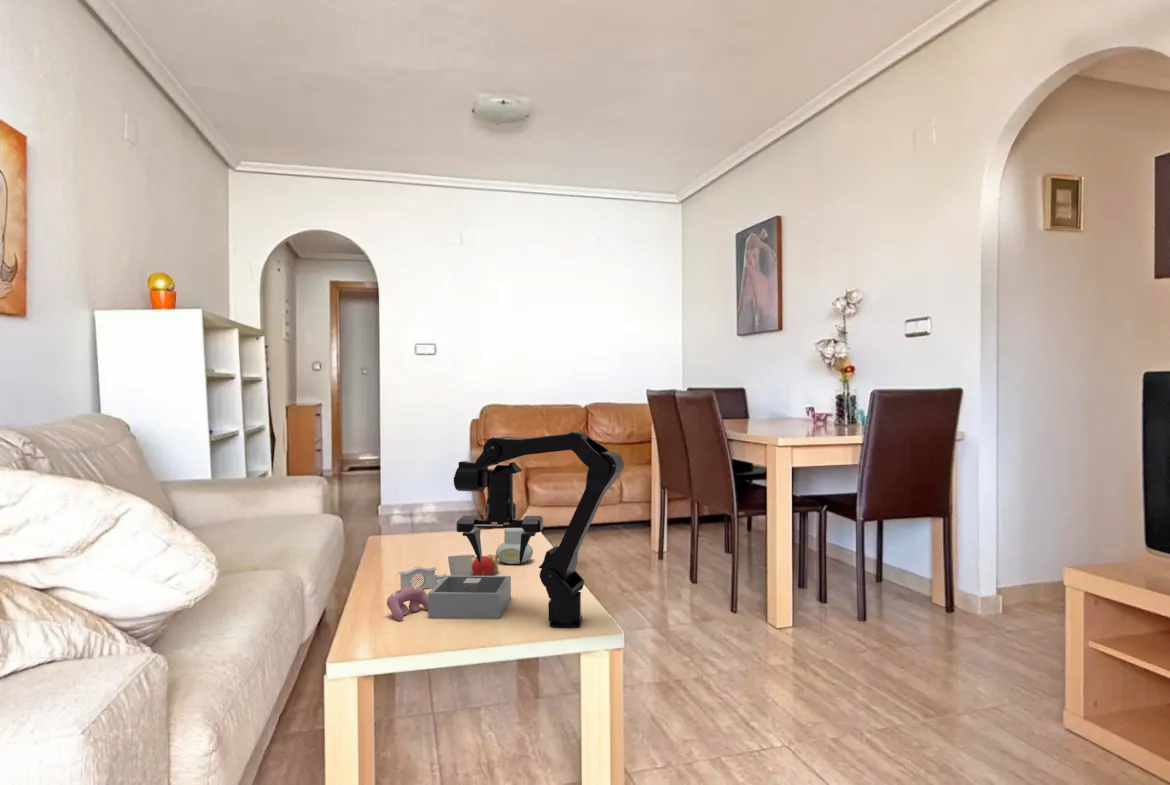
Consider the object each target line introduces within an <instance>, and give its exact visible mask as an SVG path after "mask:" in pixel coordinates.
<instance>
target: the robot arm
mask: <svg viewBox="0 0 1170 785" xmlns="http://www.w3.org/2000/svg"><path fill="white" fill-rule="evenodd" d="M562 451H572V452H573V453H574V454H575V455H576V456H577V458H578V459H579V460H580V461H581V463H583V464H584V465H585V466H586V467H587V468H588V470H587V474H586V481H585V488H584V492H583V493H582V495H581V498H580V500H579V502H578V503H577V506H576V509H575V510H574V513H573V515H572V517H571V520H570V521H569V524H568V525H567V528H566V530H565V533H564V535H563V537H562V539H561V542H560V543H559V545H555V546H553V547H552V548H550V549H548V550H547V551H546V552H545V555H544V558H543V561H542V563H541V564H540V565H539V566H538V568H539V569H540V571H539V579H540V581H541V583H542V585H543V586H544V587H545V589H546V592H547V596H548V598H549V600H548V604H547V608H548V610H547V611H548V622H549V626H550V627H551V628H562V627H563V628H580V627H581V625H582V620H583V615H582V592H581V591H582V590H583V588H584V585H585V579H584V578H583V577H582V576H581V575H580V574H579V573H578V572H577V571H576V569H577V565H578V558H579V557H578V556H579V552H580V551H579V550H580V548H581V545H582V544H583V541H584V539H585V537H586V535H587V533H588V531H589V528H590V526H591V524H592V522H593V520H594V518H595V516H596V513H597V512H598V509H599V507H600V505H601V503H602V500H603V498H604V496H605V494H606V493H607V492H608V491H609V490H610V488H611V487H612V486H613V484H614V483H615V482H616V481H617V479H618V478H619V476H620V475H621V473H622V472H623V470H624V467H625V462H624V461H623V458H622V456H621V455H620V454H619V453H618V452H616V451H613V450H612V451H611V450H608V448H606V447H605V446H604V445H602V444H600V443H599V442H597V441H596V440H594V439H592V438H591V437H590V436H589V435H588V434H587V433H586V432H584V431H581V430H578V431H577V430H576V431H572V432H569V433H561V434H551V435H544V436H535V437H518V436H506V435H503V436H496V437H492V438H488V439H487V440H486V442H485V443H484V445H483V449H482V452H481V454H480V456H479V457H478V458H477V459H476V461H475V462H474V461H467V460H463V461H459V462H458V467H457V469H456V470H455V473H454V476H453V486H454V489H455V490H456V491H457V492H473V493H474V492H475V493H477V492H479V493H482V492H484V491H485V489H486V488H487V490H486V491H487V492H486V495H487V498H486V504H485V514H486V515H487V517H486V519H480V516H479V515H462V516H461V517H460V518H459V519H458V520H457V521H456V532H457V533H462V536H463V537H467V540H468V541H469V543H470V545H471V547H472V549H473V551H474V553H475V554H474V555H475V557H477V559H478V561H479V563H481V562H482V556H483V552H482V551H483V550H482V545H481V544H482V543H481V542H482V541H481V532H482V531H481V529H506V528H522V529H523V530H524V531H523V532H522V534H521V543H520V556H519V558H520V563H521V564H523V563H522V561H523V558H524V554H525V551H526V548H527V544H529V542H530V540H531V538H532V537H535V536H536V534H537V533H541V532H542V530H543V529H544V518H543V517H542V516H541V515H525V516H524V517H523V519H516V518H517V504H516V503H514V477H513V476H514V475H515V474H519V473H521V472H522V471H523V469H522V468H521V467H520V466H518V465H517V463H516V462H515V461H512V460H516V459H519V458H522V457H525V456H527V455H536V454H543V453H545V454H547V453H554V452H562ZM509 461H512V462H509ZM504 462H509V463H508V464H504V465H503V464H500V463H504ZM492 466H494V468H489V467H492Z"/></svg>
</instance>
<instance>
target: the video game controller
mask: <svg viewBox="0 0 1170 785" xmlns="http://www.w3.org/2000/svg"><path fill="white" fill-rule="evenodd" d="M406 602H409V604H408V605H406ZM420 605H421V606H422V607H423V608H425V610H427V611H428V593H426V591H425V589H421V588H420V587H419V586H417V587H416V586H415V587H413V586H412V587H407V588H403V589H401V588H400V589H399V590H397V591H395V592H393V593H392V594H391V595H389V596H388V597H387V599H386V606H387V608H388V609H389V610H390V613H391V614H392V616H393V617H394V619H396V621H398V622H402V621H403V620H404V616H405V615H407V614H408V612H409V611H410V612H411V613H416V612H418V611H419V610H420Z"/></svg>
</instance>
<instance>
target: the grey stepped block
mask: <svg viewBox="0 0 1170 785" xmlns="http://www.w3.org/2000/svg"><path fill="white" fill-rule="evenodd" d="M463 592H477V593H482V578H467V579H466V580H465V581H464V582H463Z"/></svg>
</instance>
